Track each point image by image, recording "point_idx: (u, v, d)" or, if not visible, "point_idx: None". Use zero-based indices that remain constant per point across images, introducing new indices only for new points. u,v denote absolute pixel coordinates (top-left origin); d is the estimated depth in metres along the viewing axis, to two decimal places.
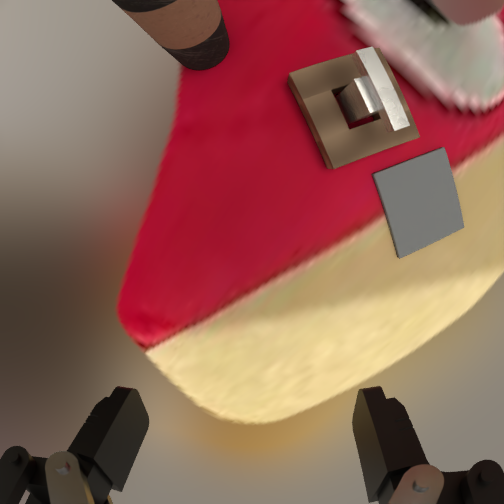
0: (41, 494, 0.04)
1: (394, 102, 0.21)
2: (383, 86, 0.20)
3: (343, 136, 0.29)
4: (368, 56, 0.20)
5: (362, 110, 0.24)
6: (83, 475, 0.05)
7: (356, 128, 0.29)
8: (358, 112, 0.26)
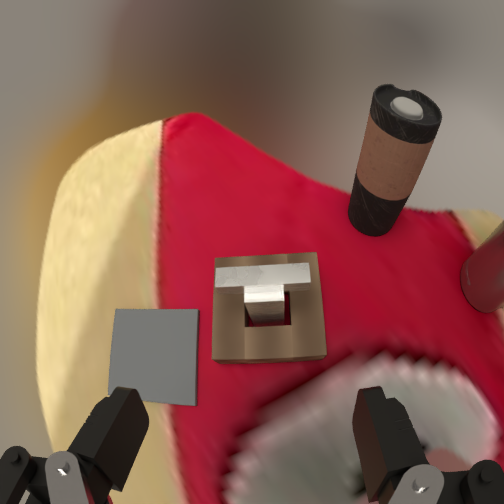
0: (41, 494, 0.04)
1: (243, 279, 0.25)
2: (263, 274, 0.25)
3: None
4: (299, 272, 0.24)
5: None
6: (83, 475, 0.05)
7: None
8: None
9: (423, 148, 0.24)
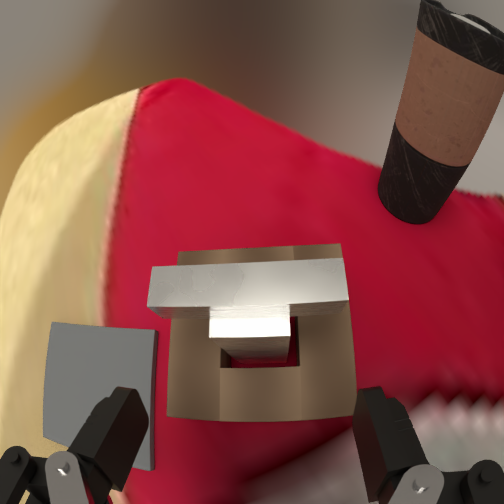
0: (41, 494, 0.04)
1: (203, 292, 0.11)
2: (245, 281, 0.11)
3: None
4: (324, 278, 0.11)
5: None
6: (83, 475, 0.05)
7: None
8: None
9: (501, 83, 0.10)
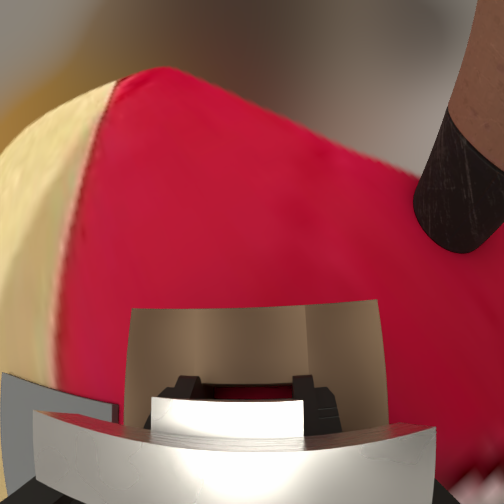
0: None
1: (120, 492, 0.03)
2: (207, 493, 0.04)
3: (183, 360, 0.12)
4: (392, 481, 0.03)
5: (192, 399, 0.07)
6: None
7: None
8: None
9: None
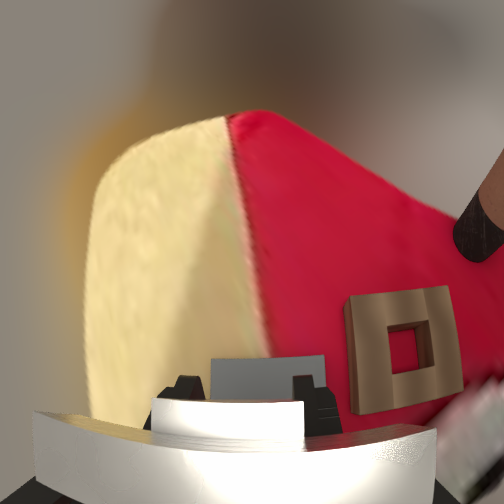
0: None
1: (121, 493, 0.03)
2: (207, 494, 0.03)
3: (380, 316, 0.27)
4: (393, 483, 0.03)
5: (192, 400, 0.07)
6: None
7: (386, 334, 0.26)
8: (205, 400, 0.09)
9: None
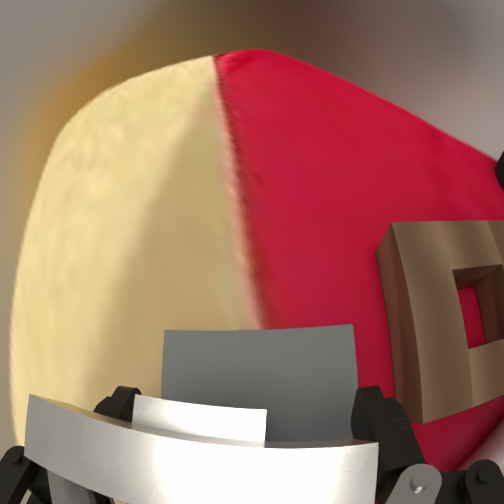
0: (42, 494, 0.05)
1: (100, 470, 0.04)
2: (174, 476, 0.04)
3: (441, 255, 0.15)
4: (335, 486, 0.04)
5: None
6: None
7: (453, 282, 0.14)
8: None
9: None
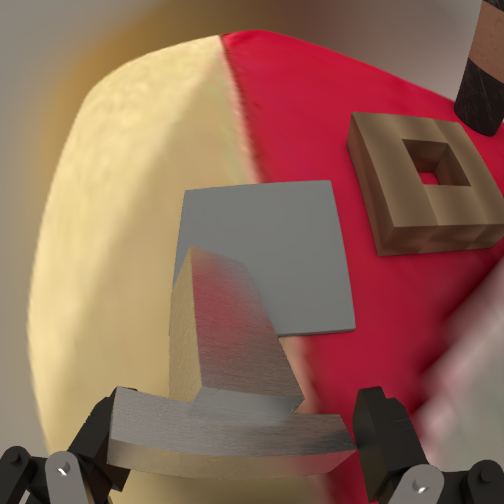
0: (41, 494, 0.04)
1: (191, 470, 0.06)
2: (248, 468, 0.07)
3: (391, 130, 0.21)
4: (326, 463, 0.08)
5: (213, 351, 0.09)
6: (83, 475, 0.05)
7: (403, 145, 0.20)
8: (210, 325, 0.10)
9: None
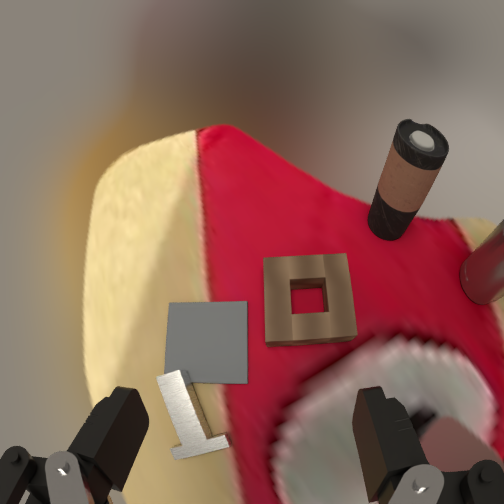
0: (41, 494, 0.04)
1: None
2: None
3: (285, 272, 0.41)
4: None
5: (181, 435, 0.31)
6: (83, 475, 0.05)
7: (288, 285, 0.40)
8: (178, 425, 0.32)
9: (433, 173, 0.31)
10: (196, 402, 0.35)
